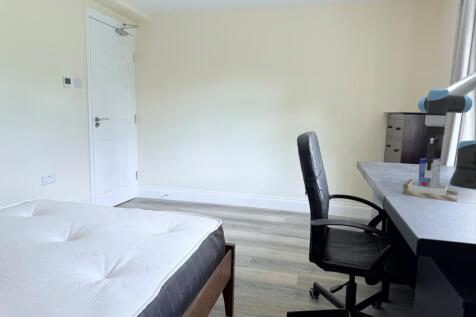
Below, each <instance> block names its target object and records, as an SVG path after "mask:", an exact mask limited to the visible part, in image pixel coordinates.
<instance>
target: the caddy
mask: <svg viewBox="0 0 476 317" xmlns="http://www.w3.org/2000/svg"><path fill="white" fill-rule="evenodd" d="M447 190H449V184H445V183H444V184H443V183H439V186H435V187H431V188H429V187H422V186H418V180H414V179H412V181H411V182H410V183H409V184H408V187H407V191H412V192H420V193H427V194H434V195H441V196H447V195H448V194H447Z"/></svg>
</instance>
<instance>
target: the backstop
mask: <svg viewBox="0 0 476 317" xmlns="http://www.w3.org/2000/svg"><path fill="white" fill-rule="evenodd" d="M412 180H413V179H412V178H408V180H406V181H405V182H404V183H403V188H402V191H403V192H402V195H409V196H414V197H415V196H416V197H421V198H429V199H436V200H442V201H450V202H458V197H455V196H447V195H456V196H458V195H459V190H452V189H448V190H447V195H446V196H441V195H434V194H427V193H420V192H412V191H407V187H408V184H409V183H410V182H411V181H412Z"/></svg>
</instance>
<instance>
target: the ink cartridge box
mask: <svg viewBox="0 0 476 317" xmlns="http://www.w3.org/2000/svg"><path fill="white" fill-rule="evenodd" d="M425 155H426V156H427V152H425ZM424 160H426V157H424V158H420V159H419V165H418V167H419V168H418V169H419V170H418V180H417V181H418V186H422V187H429V188H431V187H435V186H439V184H440V178H441V177H440V176H441V167H442V166H441V165H442V158H438V157H436V158H434V159H433V171H432V178H424V175H425V166H426V162H424Z"/></svg>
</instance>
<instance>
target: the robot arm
mask: <svg viewBox="0 0 476 317" xmlns="http://www.w3.org/2000/svg"><path fill="white" fill-rule="evenodd" d="M474 90H476V68H474V69H473V72H470V73H469V74H467V75H466V76H464V77H462V78H461V79H459V80H457V81H456V82H453V83H452V84H451V85H449V86H447V87H445V88H435V89H434V88H433V89H430V90H429V91H428V93H427V96H426V97H422V98H420V100H419V101H418V105H417V107H418V110H419V111H420V112H421V113H425V117H424V118H425V120H424V125H425V126H424V130H423V134H424V135H428V136H429V138H428V139H427V140H426V141H427V144H426V147H427V148H426V149H427V150H426V153H427V155H426V157H425V158H426V160H424V162H426V166H425V175H424V178H432V171H433V159H434V158H437V149H438V147H439V141H440V139H439V138H438V136H444V135H445V130H446V128H445V125H446V121H448V118H447V114H450V113H451V114H452V113H453V114H455V113H456V114H465V113H467V112H469V111H470V110H471V109H472V107H473V99H472V98H471V97H470V96H468V94H469V93H471V92H473V91H474ZM449 184H450V185H452V186H456V187H461V188H468V189H476V140H475V139H474V140H473V139H471V140H462V141H460V142H458V147H457V151H456V162H455V170H454V172H453V174H452V176H451V178H450V179H449Z"/></svg>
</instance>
